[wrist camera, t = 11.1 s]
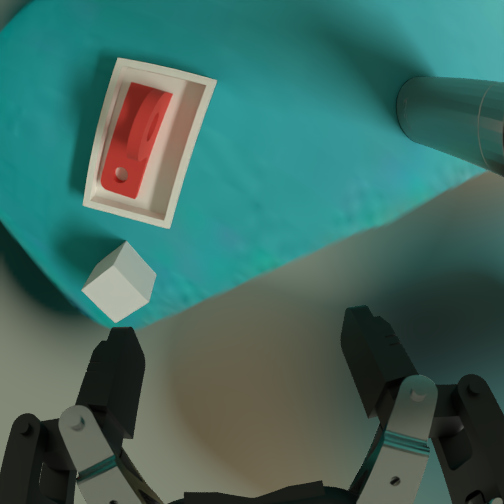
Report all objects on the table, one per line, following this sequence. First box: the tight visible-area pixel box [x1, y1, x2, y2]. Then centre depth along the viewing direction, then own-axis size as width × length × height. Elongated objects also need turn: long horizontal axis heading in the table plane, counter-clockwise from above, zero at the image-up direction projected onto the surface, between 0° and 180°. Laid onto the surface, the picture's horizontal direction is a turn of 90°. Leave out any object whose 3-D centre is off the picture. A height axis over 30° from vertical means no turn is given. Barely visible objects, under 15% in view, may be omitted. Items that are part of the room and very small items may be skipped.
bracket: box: [101, 82, 173, 199], centre depth 26 cm, size 12×4×8 cm, turn 156°
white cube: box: [82, 241, 156, 323], centre depth 35 cm, size 6×6×6 cm
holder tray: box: [83, 58, 217, 229], centre depth 29 cm, size 11×17×2 cm, turn 159°
